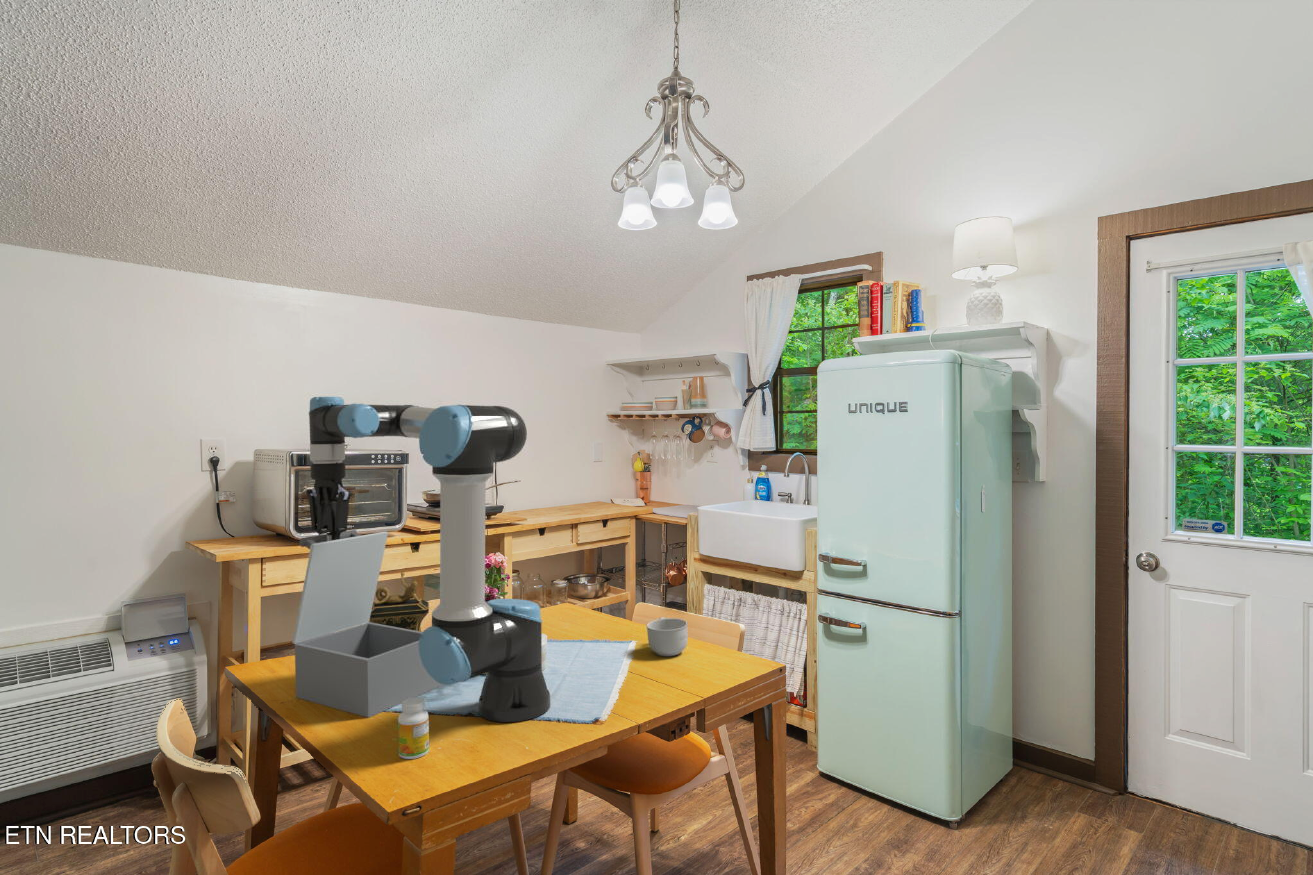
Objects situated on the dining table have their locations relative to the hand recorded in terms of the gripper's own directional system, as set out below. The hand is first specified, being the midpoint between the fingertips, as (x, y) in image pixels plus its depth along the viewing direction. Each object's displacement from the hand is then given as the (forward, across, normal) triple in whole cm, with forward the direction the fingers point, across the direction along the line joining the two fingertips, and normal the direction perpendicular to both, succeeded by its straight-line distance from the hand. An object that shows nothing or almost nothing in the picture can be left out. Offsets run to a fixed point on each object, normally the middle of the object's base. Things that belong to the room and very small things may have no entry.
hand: (329, 561), depth 169 cm
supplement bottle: (+29, -46, +17) cm, 57 cm away
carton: (+29, -13, 0) cm, 32 cm away
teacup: (+29, -60, -57) cm, 88 cm away
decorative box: (+29, +11, -27) cm, 41 cm away
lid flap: (+5, -5, 0) cm, 7 cm away
